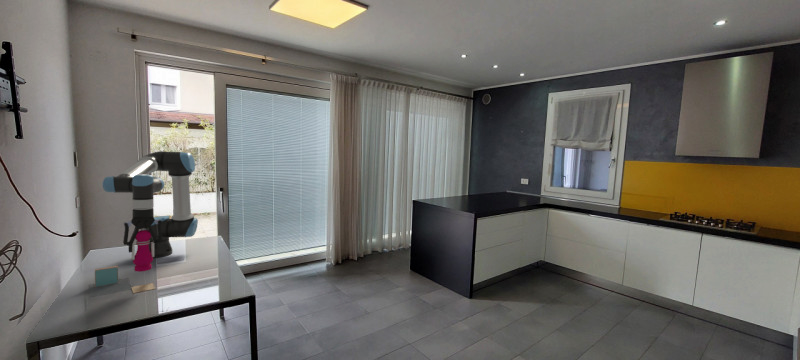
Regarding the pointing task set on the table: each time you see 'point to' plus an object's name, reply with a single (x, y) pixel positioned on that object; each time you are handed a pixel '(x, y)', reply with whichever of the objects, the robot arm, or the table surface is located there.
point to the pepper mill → (143, 251)
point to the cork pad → (143, 288)
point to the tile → (106, 276)
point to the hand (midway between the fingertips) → (143, 257)
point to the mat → (109, 288)
